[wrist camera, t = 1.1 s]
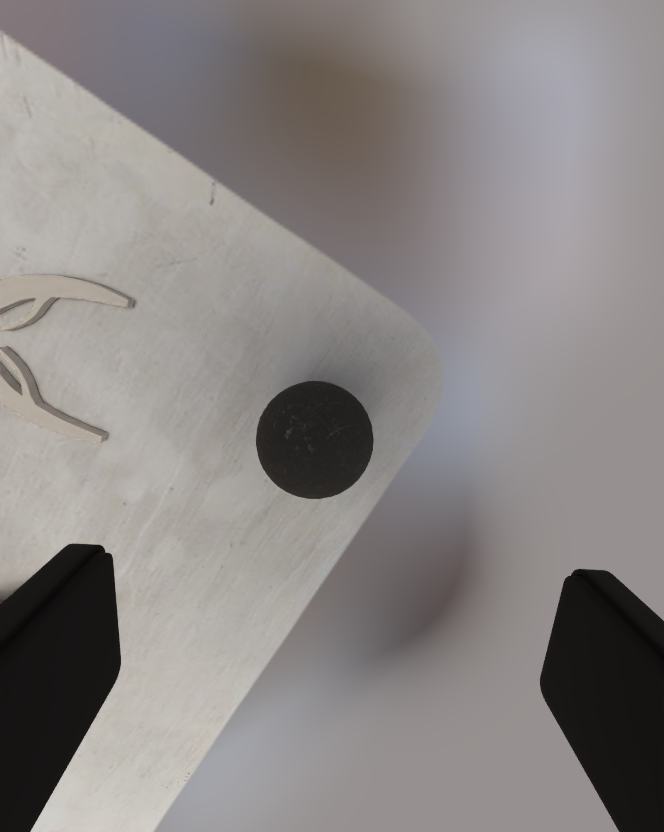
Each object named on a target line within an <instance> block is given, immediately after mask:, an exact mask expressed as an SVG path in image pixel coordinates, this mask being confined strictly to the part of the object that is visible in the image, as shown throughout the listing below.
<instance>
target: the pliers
mask: <svg viewBox="0 0 664 832" xmlns="http://www.w3.org/2000/svg"><path fill="white" fill-rule="evenodd" d="M58 298H76V299H84V300H90V301H96V302H101V303H107V304H112V305H116V306H120V307H124V308H133V303H134V300H132V299H130V298H128V297H126V296H124V295H122V294H120V293H118V292H116V291H114V290H111V289H109V288H107V287H105V286H102V285H99V284H95V283H92V282H89V281H85V280H80V279H75V278H70V277H62V276H51V275H22V276H13V277H8V278H4V279H0V314H1V313H3V312H5V311H7V310H9V309H11V308H13V307H15V306H17V305H19V304H22V303H24V302H26V301H29V300H33V299H35V301H34V303H33V306H32V308H31V310H30V311H29V312H28V313H27V314H26V315H25V316H24V317H23V318H22V319H20V320H18V321H16V322H14V323H11V324H8V325H5V326H1V327H0V330H1V331H10V330H14V329H18V328H22V327H25V326H27V325H30V324H32V323H34V322H35V321H36V320H38V319H39V318H40V317H41V316H43V315H44V313H45V312H46V311H47V309H48V308H49V306H50V305H51V304H52V303H53V302H54V301H55V300H56V299H58ZM0 354H1V355H2V356H3V357H4V358H5V359H6V360H7V361H8V363H9V364H10V365H11V366H12V368H13V369H14V370H15V372H16V374H17V376H18V378H19V380H20V382H21V386H20V385H19V384H18V383H17V382H16V381H15V379H14V378H13V377H12V376H11V375H10V374H9V372H8V371H7V370H6V369H5V367H4V366H3V365H2V364H1V362H0V403H2V404H3V405H5V406H6V407H7V408H9V409H10V410H11V411H13V412H15V413H16V414H18V415H20V416H21V417H23V418H25V419H26V420H28V421H30V422H32V423H34V424H36V425H38V426H40V427H42V428H44V429H47V430H49V431H52V432H54V433H57V434H60V435H63V436H67V437H70V438H74V439H79V440H84V441H91V442H97V443H102V442H103V441H105V440H107V435H108V433H107V432H104V431H101V430H99V429H96V428H93V427H91V426H89V425H87V424H84V423H82V422H80V421H77V420H75V419H73V418H71V417H69V416H67V415H65V414H63V413H61V412H59V411H57V410H56V409H54V408H52V407H51V406H49V405H47V404H45V403H44V402H43V401H42V399H41V397H40V395H39V393H38V390H37V387H36V383H35V380H34V378H33V376H32V374H31V373H30V371H29V369H28V367H27V366H26V365H25V364H24V362H23V361H22V360H21V359H20V358H19V357H18V356H17V355H16V354H15V353H14V352H13V351H12V350H11V349H10V348H9V347H1V348H0Z"/></svg>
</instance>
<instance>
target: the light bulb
mask: <svg viewBox="0 0 664 832" xmlns="http://www.w3.org/2000/svg"><path fill="white" fill-rule="evenodd" d="M373 441H374V439H373V432H372V425H371V422H370V419H369V417H368V414H367V412H366V411H365V409H364V407H363V406H362V404H361V403H360V402H359V401H358V400H357V399H356V398H355V397H354V396H353V395H352V394H351V393H349V392H348V391H346V390H345V389H343V388H341V387H339V386H336V385H334V384H331V383H327V382H322V381H308V382H304V383H299V384H296V385H293V386H291V387H289V388H287V389H285V390H284V391H282V392H281V393H279V394H278V395H277V396H276V397H275V398H273V399H272V400H271V401H270V403H269V404H268V405H267V407H266V408H265V410H264V411H263V413H262V415H261V417H260V420H259V424H258V428H257V435H256V447H257V452H258V456H259V460H260V463H261V465H262V467H263V469H264V470H265V472H266V474H267V475H268V476H269V477H270V479H271V480H272V481H273V482H274V483H275V484H276V485H277V486H278V487H280V488H281V489H283V490H284V491H286V492H288V493H290V494H293V495H295V496H298V497H302V498H307V499H321V498H326V497H332V496H334V495H337V494H340V493H341V492H343V491H345V490H346V489H348V488H349V487H351V486H352V485H353V484H354V483H355V482H356V481H357V480H358V479H359V478H360V477H361V475H362V474H363V473H364V471H365V469H366V467H367V465H368V463H369V461H370V458H371V455H372V451H373Z"/></svg>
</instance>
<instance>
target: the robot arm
mask: <svg viewBox="0 0 664 832" xmlns="http://www.w3.org/2000/svg"><path fill="white" fill-rule="evenodd" d="M120 666H121V654H120V641H119V629H118V616H117V604H116V592H115V579H114V567H113V558H112V555H111V554H110V553H105V549H104V548H103V546H101V545H91V544H69V545H67V546H66V547H64V548H63V549H62V550H61V551H60V552H59V553H58V554H57V555H55V556H54V557H53V558H52V559H51V560H50V561H49V562H48V563H47V564H45V565H44V566H43V567H42V568H41V569H40V570H39V571H38V572H36V573H35V574H34V575H33V576H32V577H31V578H30V579H29V580H28V581H26V582H25V583H24V584H23V585H22V586H21V587H20V588H19V589H17V590H16V591H15V592H14V593H13V594H12V595H11V596H10V597H9V598H7V599H6V600H5V601H4V602H3V603H2V604H1V605H0V832H30V831H31V829H32V828H33V826H34V824H35V822H36V821H37V819H38V817H39V815H40V814H41V812H42V810H43V808H44V807H45V805H46V803H47V801H48V800H49V798H50V796H51V794H52V793H53V791H54V789H55V787H56V786H57V784H58V782H59V780H60V778H61V777H62V775H63V773H64V771H65V770H66V768H67V766H68V764H69V763H70V761H71V759H72V757H73V756H74V754H75V752H76V750H77V749H78V747H79V745H80V743H81V742H82V740H83V738H84V736H85V735H86V733H87V731H88V729H89V728H90V726H91V724H92V722H93V721H94V719H95V717H96V715H97V714H98V712H99V710H100V708H101V707H102V705H103V703H104V701H105V700H106V698H107V696H108V694H109V693H110V691H111V689H112V687H113V686H114V684H115V682H116V680H117V677H118V674H119V671H120ZM540 687H541V692H542V694H543V697H544V699H545V701H546V703H547V705H548V707H549V708H550V710H551V712H552V714H553V716H554V717H555V719H556V721H557V723H558V724H559V726H560V728H561V729H562V731H563V733H564V735H565V737H566V738H567V740H568V742H569V744H570V746H571V747H572V749H573V751H574V753H575V754H576V756H577V758H578V760H579V761H580V763H581V765H582V767H583V768H584V770H585V772H586V774H587V776H588V777H589V779H590V781H591V782H592V784H593V786H594V788H595V790H596V791H597V793H598V795H599V797H600V798H601V800H602V802H603V804H604V806H605V807H606V809H607V811H608V813H609V814H610V816H611V818H612V820H613V821H614V823H615V825H616V827H617V829H618V830H619V832H664V621H663V620H662V619H661V618H660V617H659V616H658V615H657V614H655V613H654V612H653V611H652V610H651V609H650V608H649V607H648V606H647V605H646V604H645V603H643V602H642V601H641V600H640V599H639V598H638V597H637V596H636V595H635V594H634V593H632V592H631V591H630V590H629V589H628V588H627V587H626V586H625V585H624V584H623V583H621V582H620V581H619V580H618V579H617V578H616V577H615V576H614V575H613V574H611V573H610V572H608V571H604V570H586V569H578V570H575V571H574V572H573V573H572V575H571V576H568V577H567V578H566V579H565V581H564V584H563V588H562V592H561V596H560V600H559V604H558V608H557V612H556V616H555V620H554V624H553V628H552V633H551V636H550V640H549V644H548V649H547V652H546V657H545V660H544V665H543V669H542V673H541V677H540Z"/></svg>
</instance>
